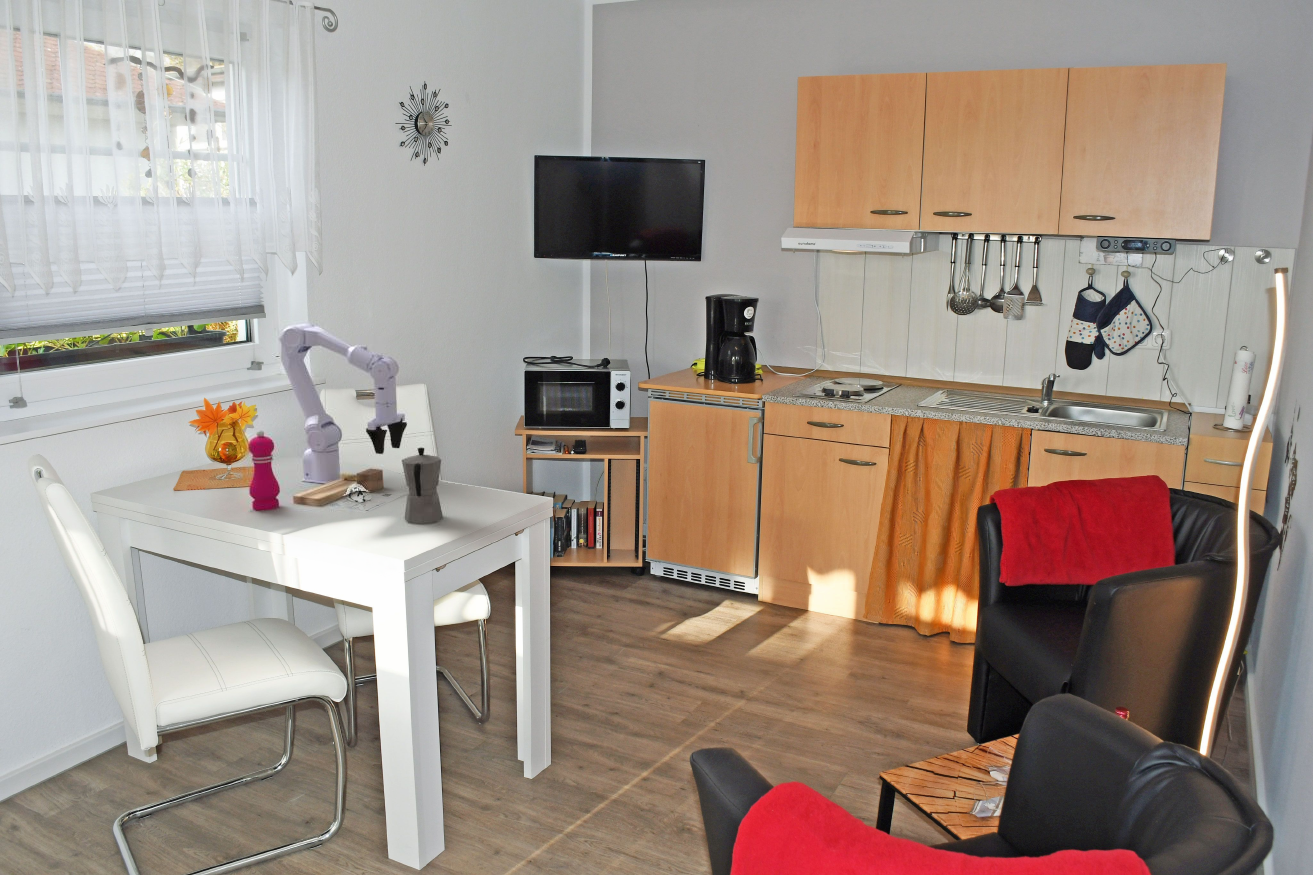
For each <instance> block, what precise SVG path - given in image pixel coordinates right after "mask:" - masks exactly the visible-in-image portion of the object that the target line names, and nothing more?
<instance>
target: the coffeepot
mask: <svg viewBox="0 0 1313 875" xmlns="http://www.w3.org/2000/svg"><path fill="white" fill-rule="evenodd" d="M417 452H418V454H417V455H416V454H415V455H411V456H407V457H405V458H403V459H401V464H402V468H403V469H402V470H403V474H404V478H405V483H406V484H405V485H406V486H407V488H408V494H407V495H406V496H407V497H406V505H405V510H404V519H405V520H404V521H406V522H407V523H408V524H412V525H428V524H434V523H437V522H439V521H441V520H442V519H443V518H444V516H443V512H442V506H441V502H440V497H439V493H438V492H437V490H438V489H437V487H438V486H439V482H440V473H441V472H440V471H441V465H442V459H441V458H440V457H439V456H437V455H430V454H425V448H424V447H418V448H417Z"/></svg>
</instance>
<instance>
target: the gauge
mask: <svg viewBox="0 0 1313 875" xmlns="http://www.w3.org/2000/svg"><path fill="white" fill-rule="evenodd" d="M383 472H384V471H383V469H379V468H367V469H364V470H362V471H359V472H357V473H356V474H354V473H353V474H352V473H344V472H343V473H340V476H341V478H344V480H346V479H355V480H357V484H360V485H362V486H363V487H364V488H365V489H366V490H368V491H369V492H371V493H373V492H376V491H378V490H380V489H381V490H382V489H383V488H384V473H383Z"/></svg>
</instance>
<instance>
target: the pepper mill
mask: <svg viewBox="0 0 1313 875" xmlns="http://www.w3.org/2000/svg"><path fill="white" fill-rule="evenodd" d="M274 450H275V444H274V441H273V440H272V438H271V437H269V436H265V432H264V430H262V429H261V430H260V429H259V430H257V431H256V436H255V437H252V438H251V439H250V441H249V443H248V451H249V452H250V454H251V462H252V463H253V476H252V479H251V481H250V484H249V487H248V488H249V489H248V490H249V492H248V493H249V496H250V497H251V498H252V499H253V500H252V503H251V504H252V505H251V506H252V509H253V510H254V511H260V512H261V511H264V512H265V511H272V510H275V509H277V508H279V507H280V502H279V501H280V499H278V496H279V495H280V492H281V489H280V484H279V482H278V479H277V478H276V476H275V474H274V471H273V467H272V466H273V465H272V462H273V460H274V458H273V457H274V455H273V454H272V453H273V451H274Z"/></svg>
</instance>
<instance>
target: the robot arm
mask: <svg viewBox="0 0 1313 875" xmlns="http://www.w3.org/2000/svg"><path fill="white" fill-rule="evenodd" d="M278 338H279V339H278V341H279V342H280V345H281V346H280V349H281V350H280V361H281V363H282V366H283V368H284V370H285V373H286V375H287V377H288V381H289V383H290V384H291V387H292V389H293V392H294V394H295V396H296V398H297V401H298V403H299V406H300V408H301V411H302V412H303V414H304V417H305V420H306V422H305V425H304V431H305V434H306V437H305V438H306V439H305V440H306V444H307V446H308V447H309V448H308V449H306V450H305V451H304V453H303V454H302V455H303V456H302V466H303V467H302V468H303V469H302V470H303V478H302V480H301V481H302V482H308V483H316V484H322V485H324V484H327V483H329V482H332V481H335V480H337V479H340V478H341V467H340V465H341V464H340V450H339V447H340V446H339V443H340V442H341V440H342V439H343V432H342V428H340V426H339V425H338V424H337V423H336V422H335V421H334V418H333V417H332V416H331V414H330V415H329V414H328V413H327V412H326V410H325V408H324V406H323V403H322V401H321V399H320V396H319V393H318V391H317V388H316V386H315V384H314V382H313V380H312V378H311V375H310V372H309V371H308V368H307V366H306V363H305V358H306V356H307V354H308V351H309V350H310V349H311V348H312V347H317V346H318V347H319V346H320V347H323V348H325V349H327V350H330V351H331V352H334V353H336V354H339V355H341V356H343V357H345V358H346V359H347V362H348V364H349V365H351V366H354V367H356V368H357V369H360V370H361V371H364V372H365V373H367V374H369V375H370V376H371V378H372V379H373V382H374V383H373V385H374V388H373V389H374V408H375V410H374V411H375V412H374V413H375V417H374V419H372V420H370V421H368V422H367V428H365V432H366V434H367V435H368V437H369V438H370V440H371V441H370V442H371V443H372V446H373V449H374V452H375V454H377V455H384V454H385V453H384V452H385V440H386V436H387V433H388V432H389V436H390V445H391V448H392V449H400V447H401V444H402V438H403V434H404V432H405V430H406V428H407V426H408V423H407V422H405V421H406V414H405V413H398V405H397V404H398V403H397V384H396V383H397V380H396V376H398V373H399V368H400V367H399V364H398V362H397V361H396V360H395V359H394V358H392V357H391V356H385V357H384V356H383V354H382V353H376V352H374V351H372V350H370V349H368V346H367V345H365V344H361V345H360V344H357V345H353V346H352V345H350V344H349V343H347V342H345V341H343V340H342V339H340V338H338V337H336V336H335V335H333V334H331V333H330V332H328V331H326V330H324V328H322V327H320V326H317V325H316V326H315V325H314V324H312V323H310V322H304V323H302V324H297V325H289V326H287V327H285V328H284V329H283V330H282V332H281V334H280V336H279V337H278ZM385 426H386V427H387V429H388V430H387V429H383V428H382V427H385Z"/></svg>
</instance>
